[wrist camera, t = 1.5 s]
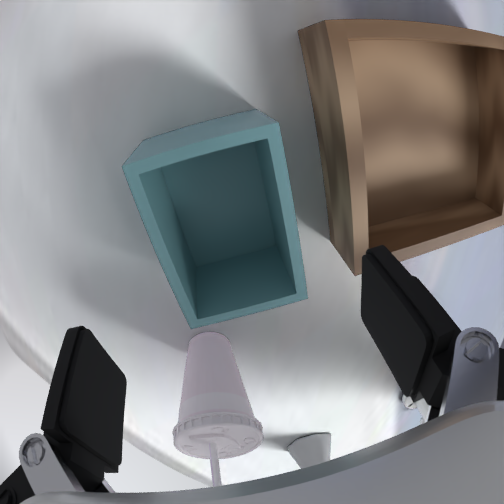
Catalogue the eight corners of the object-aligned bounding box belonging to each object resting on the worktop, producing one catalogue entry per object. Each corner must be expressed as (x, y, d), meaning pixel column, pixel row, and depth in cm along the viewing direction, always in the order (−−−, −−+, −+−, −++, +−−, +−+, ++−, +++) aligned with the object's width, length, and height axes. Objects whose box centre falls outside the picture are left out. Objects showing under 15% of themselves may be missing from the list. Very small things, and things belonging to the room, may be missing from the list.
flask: (324, 447, 45) (340, 497, 36) (282, 454, 44) (295, 507, 35) (337, 428, 41) (357, 483, 33) (291, 435, 40) (308, 495, 31)
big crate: (474, 201, 24) (506, 223, 20) (330, 241, 23) (354, 276, 20) (471, 35, 16) (512, 39, 12) (297, 30, 15) (324, 20, 12)
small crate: (283, 246, 23) (307, 298, 18) (190, 271, 23) (191, 329, 18) (255, 108, 18) (278, 122, 13) (143, 139, 18) (121, 166, 13)
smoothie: (201, 308, 25) (215, 481, 13) (260, 339, 28) (297, 488, 16) (159, 351, 27) (157, 501, 15) (216, 376, 30) (233, 510, 18)
